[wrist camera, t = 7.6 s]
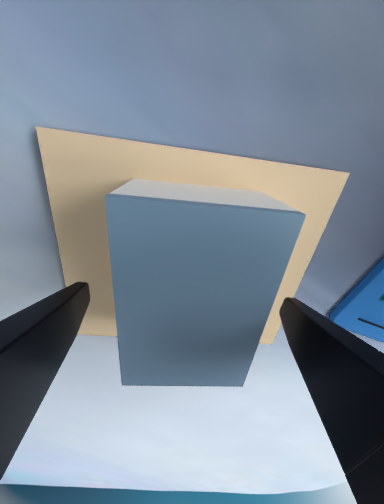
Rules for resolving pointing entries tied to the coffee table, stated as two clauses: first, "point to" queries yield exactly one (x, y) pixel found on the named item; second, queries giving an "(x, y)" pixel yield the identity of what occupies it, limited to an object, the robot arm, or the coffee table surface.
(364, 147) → the coffee table surface
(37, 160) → the coffee table surface
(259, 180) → the cork mat
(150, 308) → the card box
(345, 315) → the handheld gaming device
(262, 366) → the coffee table surface
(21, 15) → the coffee table surface
